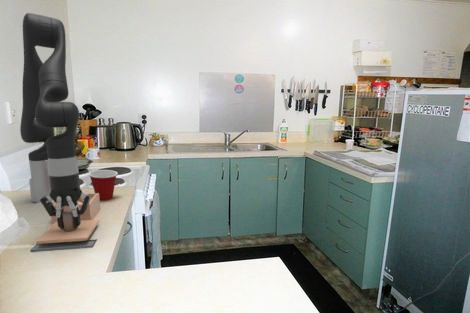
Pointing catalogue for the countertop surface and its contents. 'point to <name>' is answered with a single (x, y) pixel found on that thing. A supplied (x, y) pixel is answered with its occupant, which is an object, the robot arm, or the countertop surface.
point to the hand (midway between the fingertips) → (69, 227)
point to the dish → (89, 213)
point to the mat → (63, 245)
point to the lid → (68, 230)
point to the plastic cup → (103, 183)
